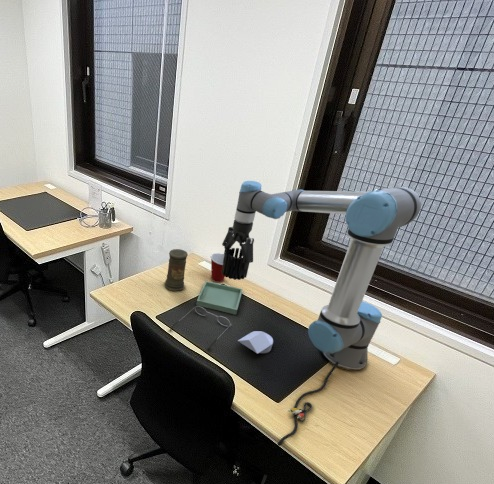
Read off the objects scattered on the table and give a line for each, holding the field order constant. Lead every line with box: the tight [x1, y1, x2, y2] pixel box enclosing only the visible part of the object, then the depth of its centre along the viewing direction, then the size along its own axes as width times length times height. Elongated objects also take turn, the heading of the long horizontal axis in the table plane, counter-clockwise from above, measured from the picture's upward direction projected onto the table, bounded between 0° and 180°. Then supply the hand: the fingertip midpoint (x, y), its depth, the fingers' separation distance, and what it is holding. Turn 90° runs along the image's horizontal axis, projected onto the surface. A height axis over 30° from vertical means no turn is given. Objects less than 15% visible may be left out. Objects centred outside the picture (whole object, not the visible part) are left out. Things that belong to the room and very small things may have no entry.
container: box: [164, 248, 188, 292], centre depth 177 cm, size 9×9×18 cm
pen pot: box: [222, 247, 250, 281], centre depth 163 cm, size 10×11×11 cm
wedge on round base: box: [237, 330, 274, 354], centre depth 144 cm, size 9×7×13 cm
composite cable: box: [288, 401, 313, 423], centre depth 118 cm, size 10×5×2 cm, turn 120°
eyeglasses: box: [169, 305, 233, 351], centre depth 153 cm, size 18×19×4 cm
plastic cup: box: [210, 252, 226, 283], centre depth 186 cm, size 11×11×12 cm
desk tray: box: [195, 280, 244, 315], centre depth 173 cm, size 19×18×3 cm
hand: (233, 268), depth 164 cm, fingers closed on pen pot, 11 cm apart
